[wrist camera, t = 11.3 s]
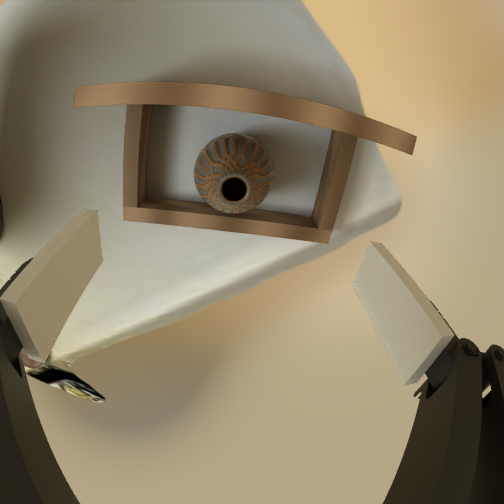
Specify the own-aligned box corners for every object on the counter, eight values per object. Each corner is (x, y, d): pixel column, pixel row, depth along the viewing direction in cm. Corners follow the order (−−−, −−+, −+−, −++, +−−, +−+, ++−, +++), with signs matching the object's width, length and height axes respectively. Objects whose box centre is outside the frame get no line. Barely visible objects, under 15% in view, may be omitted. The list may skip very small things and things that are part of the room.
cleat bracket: (120, 208, 28) (80, 254, 19) (126, 89, 21) (75, 86, 13) (332, 232, 31) (366, 284, 22) (361, 122, 25) (416, 136, 16)
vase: (274, 189, 28) (289, 224, 20) (208, 202, 28) (199, 242, 21) (261, 124, 25) (274, 132, 17) (192, 139, 25) (173, 155, 17)
